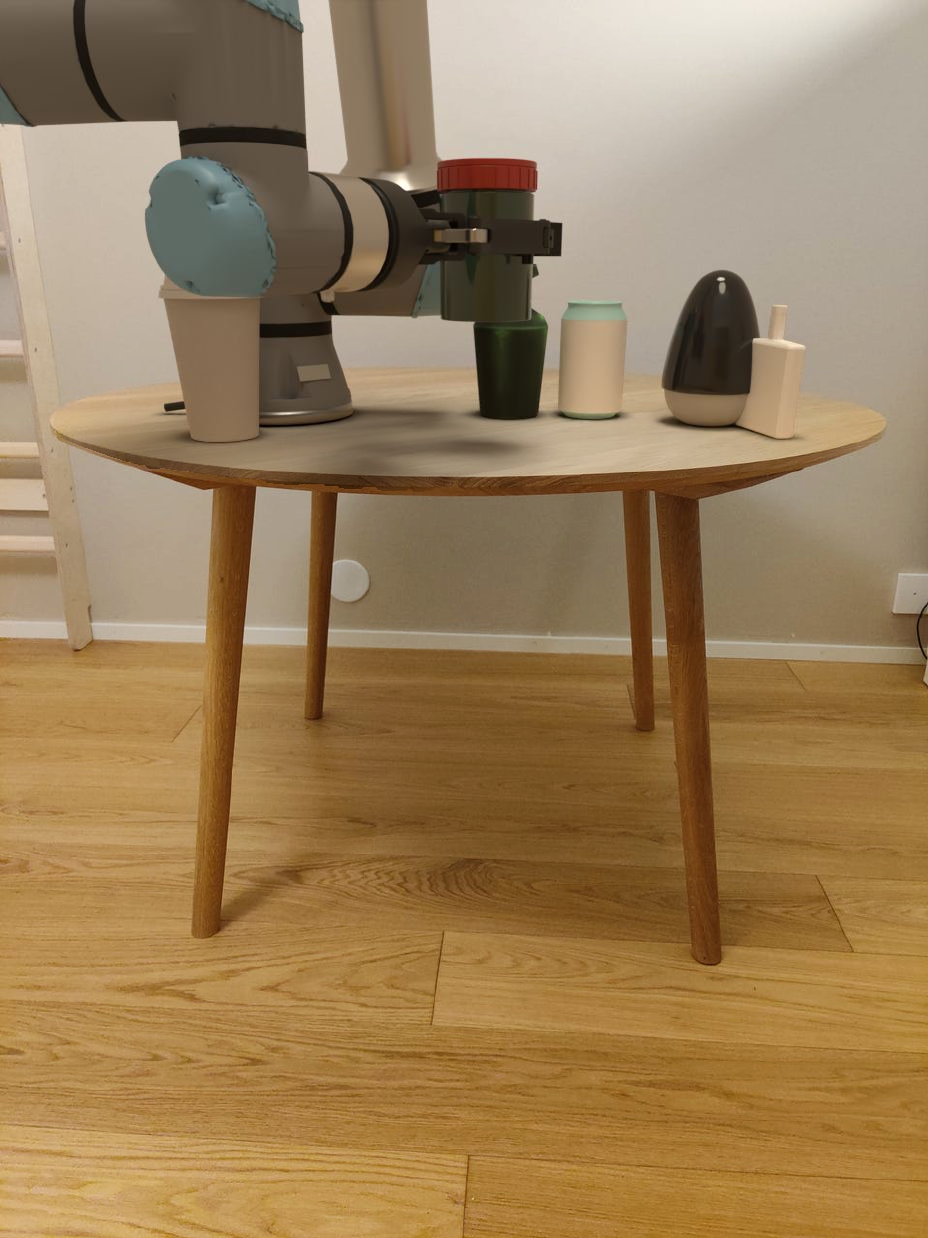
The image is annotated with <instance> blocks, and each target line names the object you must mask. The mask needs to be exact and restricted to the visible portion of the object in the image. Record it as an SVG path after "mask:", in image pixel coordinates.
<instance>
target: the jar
mask: <svg viewBox="0 0 928 1238" xmlns="http://www.w3.org/2000/svg"><path fill="white" fill-rule="evenodd" d="M439 212H448V213H463V214H464V215H465V217H466V218H468V217H470V216H471V215H478V217H481V218H492V219H515V220H535V193H527V191H522V190H506V189H468V190H452V191H447V192H446V193H443V194H440V195H439ZM444 221H446V220H444ZM446 222H448V221H446ZM448 223H449V222H448ZM448 252H449V249H448V251H446V252H443V253H440V254H448ZM533 264H534V263H533ZM533 264H522V256H517V254H479V255H478V256H471V255H468V254H467V255H466V257H465V259H464V260H463V261H440V316H439V318H440V320H442V321H447V322H463V323H475V322H514V321H526V320H530V319H531V308H532V305H533V304H532V301H533V299H532V298H533V296H532V295H533V278H532V267H533Z"/></svg>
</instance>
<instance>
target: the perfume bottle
mask: <svg viewBox="0 0 928 1238" xmlns="http://www.w3.org/2000/svg"><path fill="white" fill-rule="evenodd" d="M788 309H789V306H788V305H786V304H785V305H784V304H772V305H771V312H770V318H769V326H768V333H767V337H765V338H764V337H760V338H754V339H753V343H752V345H753V348H752V376H751V387H750V393H749V394H748V396H747V400H746V404H745V407H744V410H743V412H742V414H741V416H740V418H739V419H738V420H737V421H736V422H735V423H734V424H735V425H736V426H738V427H741V428H744V429H746V430H750V431H752V432H755V433H759V434H762V435H764V436H767V437H770V438H774V439H778V440H779V439H781V440H782V439H783V440H784V439H786V440H787V439H791V438H792V437H793V436H794V429H795V423H796V416H797V409H798V404H799V397H800V390H801V383H802V377H803V376H802V375H803V372H804V371H803V370H804V364H805V358H806V352H807V348H806V346H805V345H804V344H800V343H797V342H793V341H790V340H786V339H784V337H785V329H786V323H787V314H788V311H789V310H788Z"/></svg>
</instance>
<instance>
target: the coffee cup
mask: <svg viewBox="0 0 928 1238" xmlns="http://www.w3.org/2000/svg"><path fill="white" fill-rule="evenodd" d="M159 288H160V289H159V290H158V298H159V299H163V303H164V307H165V312H166V318H167V322H168V326H169V332H170V338H171V342H172V347H173V352H174V358H175V363H176V368H177V373H178V377H179V383H180V388H181V393H182V398H183V401H184V404H185V409H184V410H185V414H186V419H187V424H188V425H187V426H188V429H189V434H190V439H192V440H194V441H198V442H206V443H233V442H242V441H247V440H251V439H255V438H257V437H259V435H260V425H259V323H260V297H255V298H248V297H212V296H200V295H196V294H193V293H189V292H187V291H185V290H183V289H181V288H180V287H178V286H177V285H176V284H174V283H173V282H172V281H171V280H170V279H169V278H168V277H167V276H166V275H165V274H164V279H163V284H161V285H160V287H159Z"/></svg>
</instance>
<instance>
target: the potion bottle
mask: <svg viewBox="0 0 928 1238" xmlns="http://www.w3.org/2000/svg"><path fill="white" fill-rule="evenodd" d="M538 276H540V272H539V268H538V266H537V263H533V267H532V279H534V278H535V277H538ZM472 331H473V342H474V353H475V367H476V378H477V381H476V382H477V392H478V406H479V412H480V414H481V415H482V416H483V417H485V418H491V419H498V420H499V419H500V420H521V419H530V418H534V417H536V416H537V415H538V414H539V411H540V401H541V394H542V385H543V376H544V367H545V359H546V350H547V340H548V331H549V324H548V322H547V320H546V318H545V316H543V315H542V314H541V313H539V311H537V310H536V309H534V308H532V307H531V319H530V320H526V321H514V322H473V324H472Z"/></svg>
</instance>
